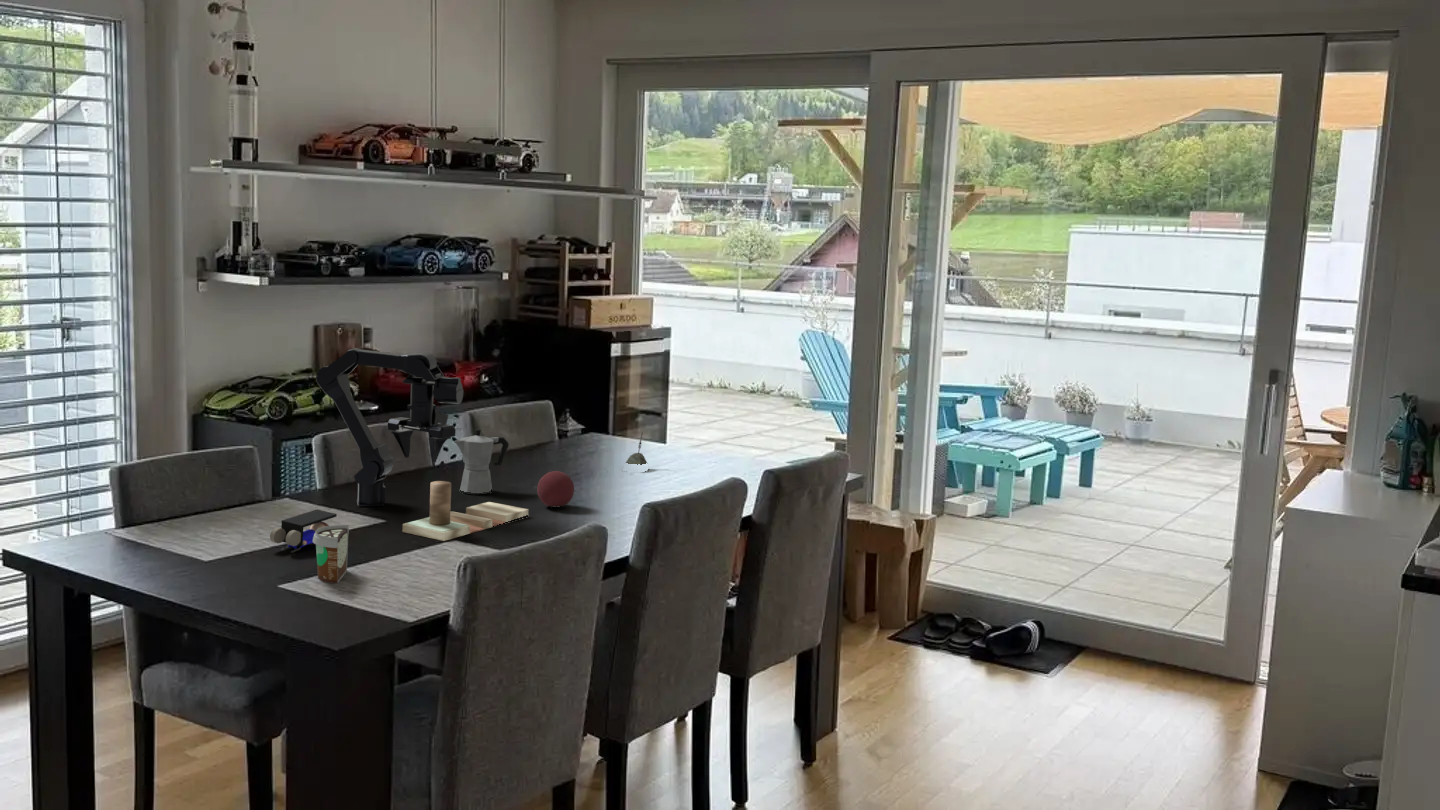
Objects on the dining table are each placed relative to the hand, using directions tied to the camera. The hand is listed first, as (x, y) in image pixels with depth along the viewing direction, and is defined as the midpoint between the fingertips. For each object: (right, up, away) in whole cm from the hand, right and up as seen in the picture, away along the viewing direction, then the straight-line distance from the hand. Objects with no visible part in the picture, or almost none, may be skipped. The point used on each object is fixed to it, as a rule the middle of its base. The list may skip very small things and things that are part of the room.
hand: (420, 459), depth 335 cm
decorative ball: (+34, -14, +12) cm, 38 cm away
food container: (-5, -22, -64) cm, 68 cm away
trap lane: (+15, -16, -12) cm, 25 cm away
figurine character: (-17, -18, -42) cm, 49 cm away
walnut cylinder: (+10, -15, -21) cm, 28 cm away
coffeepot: (+11, -10, +26) cm, 30 cm away
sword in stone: (+52, -7, +70) cm, 88 cm away
